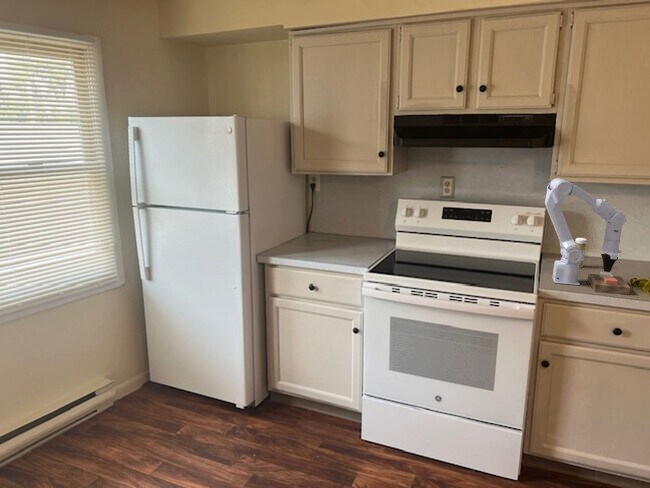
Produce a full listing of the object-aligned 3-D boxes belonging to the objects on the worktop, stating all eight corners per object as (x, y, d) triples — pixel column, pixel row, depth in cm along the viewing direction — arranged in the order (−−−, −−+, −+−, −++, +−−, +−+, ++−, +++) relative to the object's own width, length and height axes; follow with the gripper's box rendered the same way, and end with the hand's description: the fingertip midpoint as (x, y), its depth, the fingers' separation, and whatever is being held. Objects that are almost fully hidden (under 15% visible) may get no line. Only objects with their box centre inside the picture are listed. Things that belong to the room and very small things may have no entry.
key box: (594, 291, 193) (596, 284, 192) (587, 280, 206) (588, 273, 206) (629, 295, 189) (630, 287, 188) (619, 283, 203) (620, 276, 202)
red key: (605, 286, 193) (606, 280, 193) (603, 282, 197) (604, 277, 196) (616, 287, 192) (617, 281, 191) (614, 283, 196) (615, 278, 195)
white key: (601, 280, 200) (602, 274, 200) (599, 277, 204) (600, 271, 203) (612, 281, 199) (613, 275, 198) (609, 278, 203) (610, 272, 202)
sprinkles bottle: (573, 264, 229) (577, 237, 226) (584, 266, 226) (588, 238, 223) (570, 266, 226) (574, 238, 223) (581, 268, 223) (585, 240, 220)
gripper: (627, 244, 189) (622, 277, 193) (618, 236, 203) (613, 267, 206) (607, 243, 191) (602, 275, 195) (599, 235, 205) (595, 266, 208)
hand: (606, 271), depth 201 cm, fingers closed
